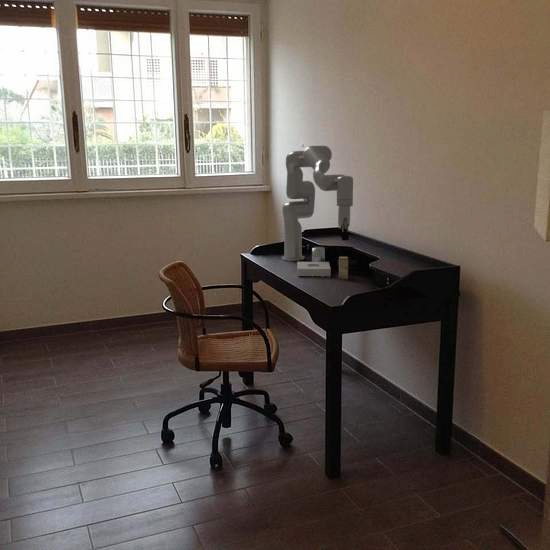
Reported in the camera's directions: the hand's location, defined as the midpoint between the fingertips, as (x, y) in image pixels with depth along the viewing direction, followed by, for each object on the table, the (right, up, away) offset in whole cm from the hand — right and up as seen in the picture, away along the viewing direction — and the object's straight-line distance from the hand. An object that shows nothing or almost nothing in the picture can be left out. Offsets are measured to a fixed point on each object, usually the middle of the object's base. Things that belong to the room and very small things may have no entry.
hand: (344, 238), depth 301 cm
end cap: (+3, -16, +17) cm, 23 cm away
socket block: (-14, -16, +15) cm, 26 cm away
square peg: (0, -19, +5) cm, 19 cm away
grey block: (-10, -13, +28) cm, 33 cm away
